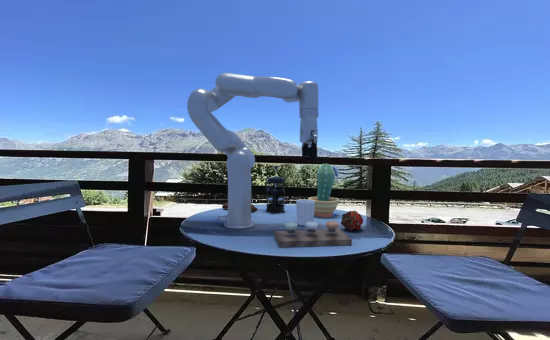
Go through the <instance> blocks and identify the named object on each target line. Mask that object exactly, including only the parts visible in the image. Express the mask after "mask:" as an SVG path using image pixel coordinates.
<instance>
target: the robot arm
mask: <svg viewBox="0 0 550 340" xmlns="http://www.w3.org/2000/svg"><path fill="white" fill-rule="evenodd" d="M236 96H237V97H243V98H244V97H245V98H251V99H257V98H262V97H265V98H266V97H268V98H276V99H282V100H283V102H286V103H296V102H298V107H299V108H298V109H299V110H298V111H299V113H298V114H299V119H300V121H299V123H300V124H299V142H300V143H301V158H309V159H313V158H315V159H316V158H318V139H319V135H318V134H319V132H318V118H319V84H318V82H316V81H313V80H312V81H311V80H310V81H309V80H308V81H303V82H300V84H297V82H295V81H294V80H292V79H291V78H289V79H288V78H283V77H276V76H261V75H260V76H259V75H258V76H257V75H256V76H255V75H248V74H241V73H234V72H233V73H232V72H222V73H220V74H218V75H217V77H216V78H215V86H214V87H213V88H212V89H210V90H207V89H206V88H196V89H194V90H192V91H191V93H190V94H189V96H188V99H187V103H186V104H187V105H186V110H187V113H188V116H189V118H190V120H191V121H192V123H193V124H194V125H195V127H196V128H197V129H198V131H200V133H201V134H202V135H203V137H205V138H206V139H207V141H208V142H209V144H211V146H212V147H213V148H214V149H215V150H216V151H217V152H219V153H224V154H225V156H227V159H226V171H227V202H228V209H227V213H226V214H224V215H217V216H216V221H217V222H218V221H219V222H223V225H224V227H225V228H228V229H235V230H246V229H251V228H253V227H255V224H256V223H255V221H253V220H252V211H251V204H252V170H251V169H252V168H253V167H254V166H255V163H256V157H255V155H254V153H253V152H252V150H251V149H250V148H249V146H248V145H246V143H245V142H244V140H242V139H241V137H239V136H238V134H237V133H235V132H234V131H232V130H229V129H227V128H226V127H225V126H224V125H223V124H222V123H221V122H220V120H219V119H218V118H217V117H216V116H215V115H214V114H213V112H216V111H217V110H219V109H221V108H222V107H223V106H224V105H226V104H227V103H228V102H230V101H232V99H234V98H235V97H236Z"/></svg>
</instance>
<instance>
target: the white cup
mask: <svg viewBox="0 0 550 340" xmlns="http://www.w3.org/2000/svg"><path fill="white" fill-rule="evenodd" d="M295 202H296V205H295V206H296V223H297V226H301V227H305V226H306V222H314V217H315V215H314V208H315V201H313V200H308V199H298V200H296V201H295Z"/></svg>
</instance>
